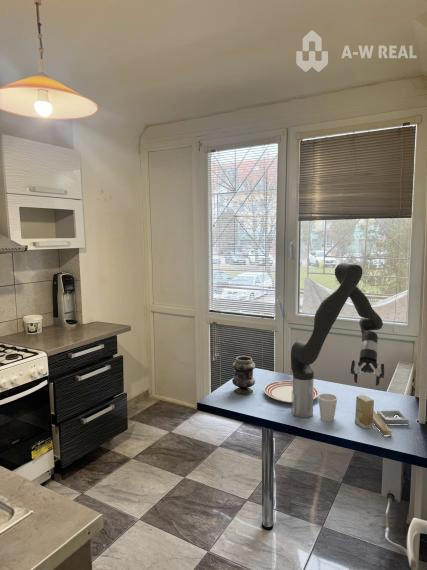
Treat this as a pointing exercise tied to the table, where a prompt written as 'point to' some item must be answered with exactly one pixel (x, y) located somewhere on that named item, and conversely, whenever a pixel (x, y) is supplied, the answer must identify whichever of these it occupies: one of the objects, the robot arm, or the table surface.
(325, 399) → the dixie cup
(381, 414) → the tray
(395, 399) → the table surface
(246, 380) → the dark carved vase
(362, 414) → the skincare box
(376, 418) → the sill
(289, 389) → the dinner plate
